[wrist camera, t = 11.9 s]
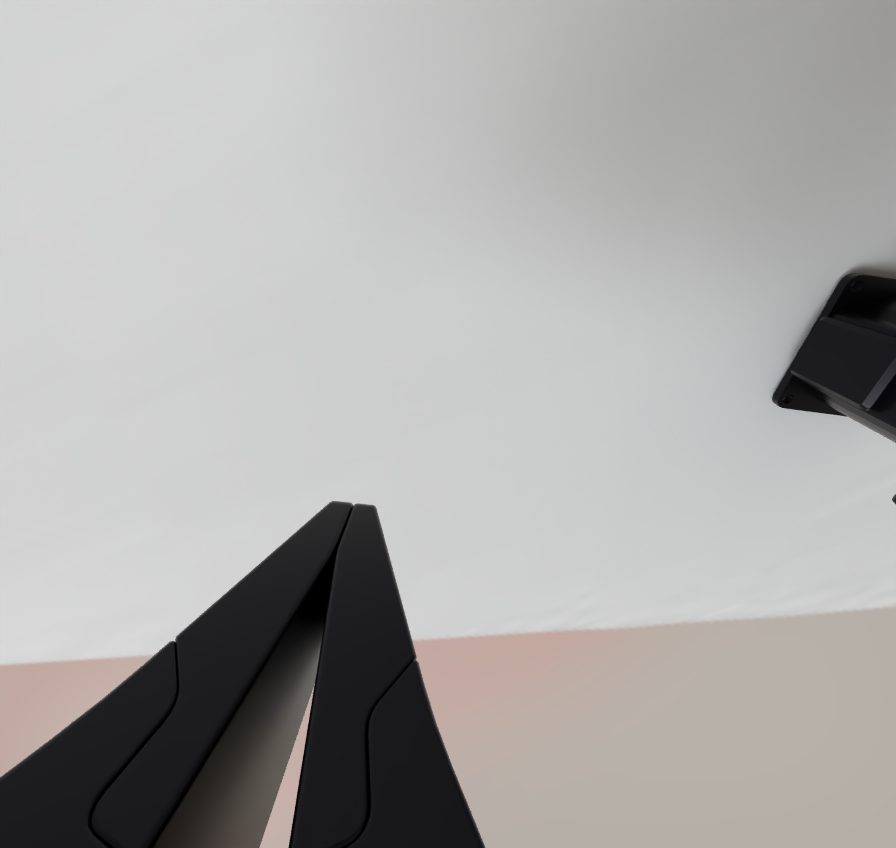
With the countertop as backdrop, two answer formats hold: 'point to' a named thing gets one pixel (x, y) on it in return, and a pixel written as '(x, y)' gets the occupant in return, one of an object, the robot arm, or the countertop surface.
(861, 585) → the countertop surface
